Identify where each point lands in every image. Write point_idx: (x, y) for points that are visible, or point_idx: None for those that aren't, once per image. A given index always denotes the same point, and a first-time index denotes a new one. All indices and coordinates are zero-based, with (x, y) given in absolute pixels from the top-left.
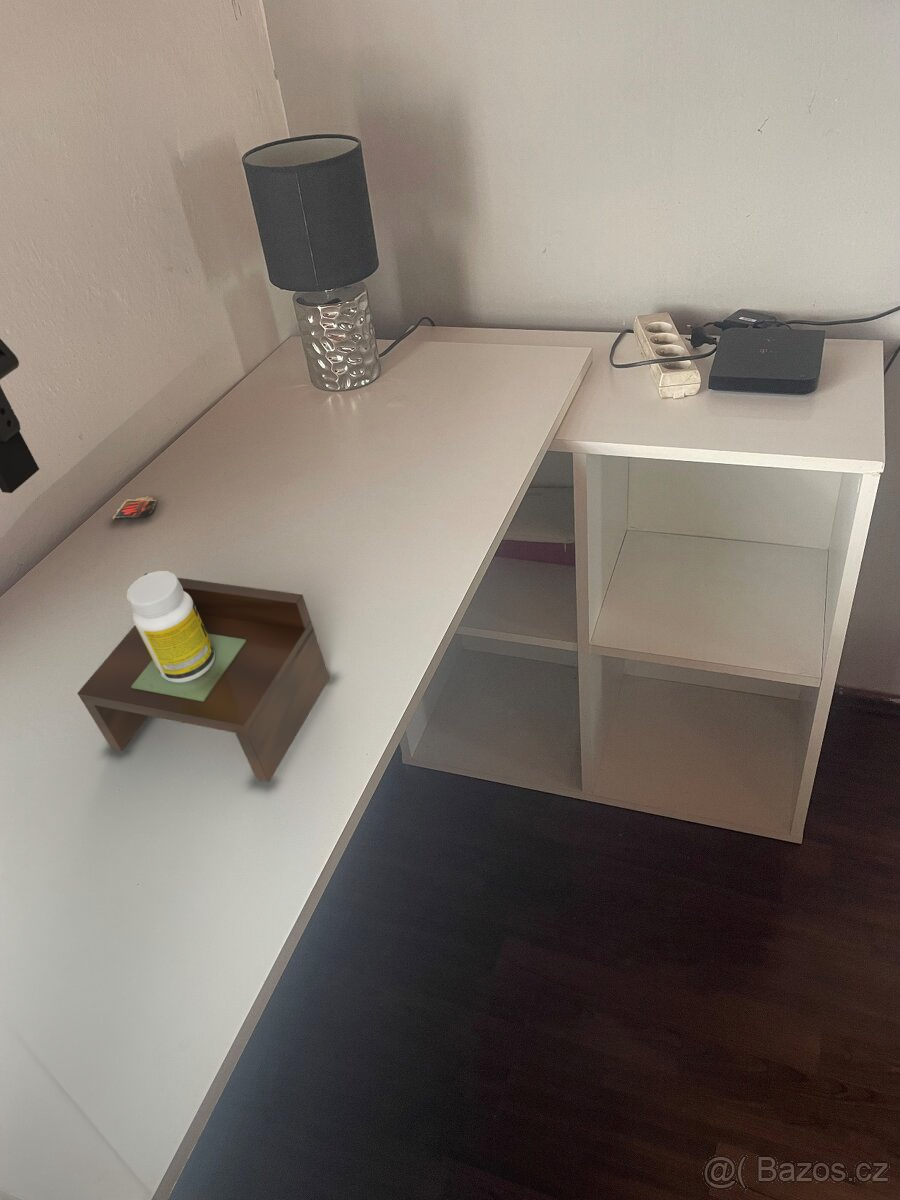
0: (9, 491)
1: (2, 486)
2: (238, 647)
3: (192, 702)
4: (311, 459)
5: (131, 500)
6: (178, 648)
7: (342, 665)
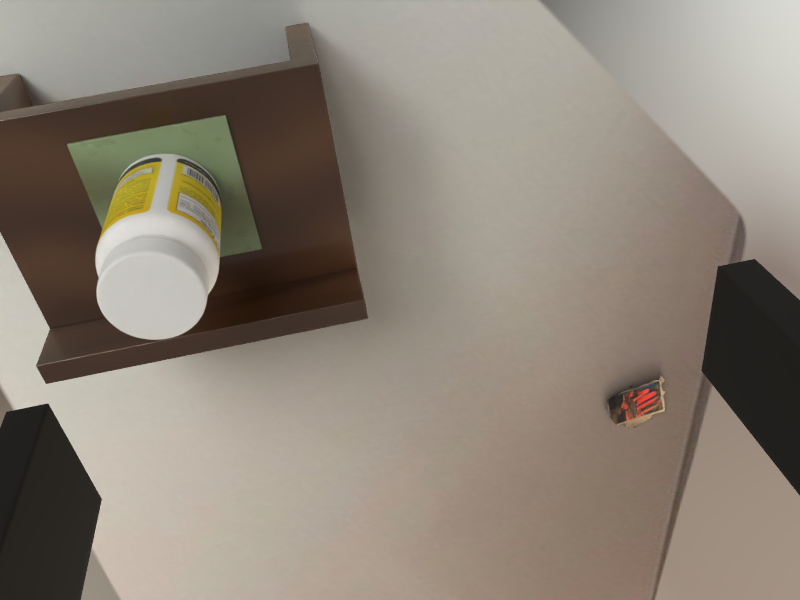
0: (10, 415)
1: (25, 424)
2: None
3: (85, 133)
4: (440, 550)
5: (655, 412)
6: (110, 209)
7: None
